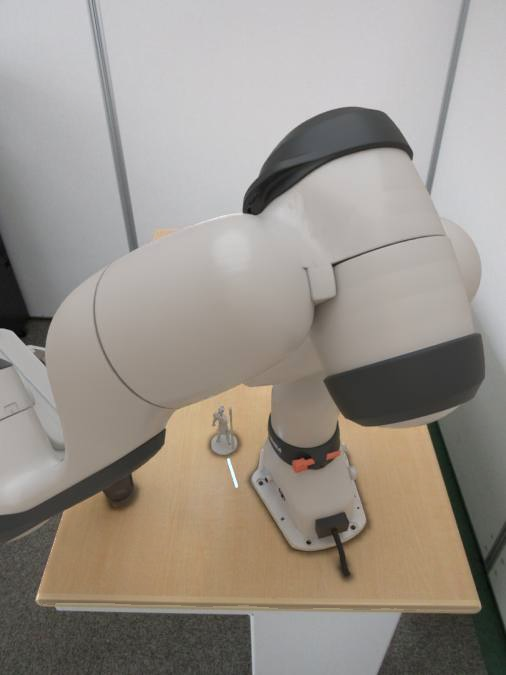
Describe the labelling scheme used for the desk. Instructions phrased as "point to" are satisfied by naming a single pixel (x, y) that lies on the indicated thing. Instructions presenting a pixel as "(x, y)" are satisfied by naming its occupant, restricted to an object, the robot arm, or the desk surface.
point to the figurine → (223, 434)
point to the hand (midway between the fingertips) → (74, 374)
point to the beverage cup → (120, 492)
